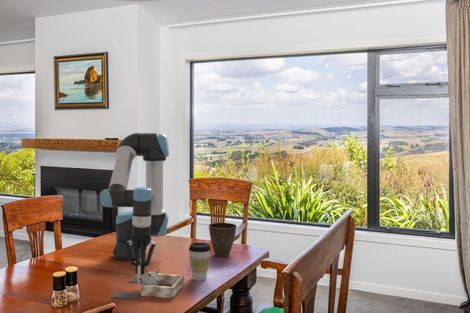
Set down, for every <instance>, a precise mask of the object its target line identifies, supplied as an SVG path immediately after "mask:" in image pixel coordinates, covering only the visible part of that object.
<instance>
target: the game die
mask: <svg viewBox="0 0 470 313" xmlns="http://www.w3.org/2000/svg"><path fill="white" fill-rule="evenodd" d="M158 274H159V270H157V271H151V270H150V271H149V270H148V269H145V273H144V275H142V279H139V280H141V282H142V283H141V286H142V285H153V286H159V285H160V284H159V283H160V282H161V281H160V280H159V276H158Z"/></svg>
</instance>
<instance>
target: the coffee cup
mask: <svg viewBox="0 0 470 313" xmlns="http://www.w3.org/2000/svg"><path fill="white" fill-rule="evenodd" d="M211 247H212V246H210V244H209V243H207V242H194V243H191V244H190V245H189V247H188V251H189V259H190V270H191V277H192V278H191V279H192V280H194V281H205V280H206V279H207V275H208V270H209V264H210V253H211V250H212V249H211Z"/></svg>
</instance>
